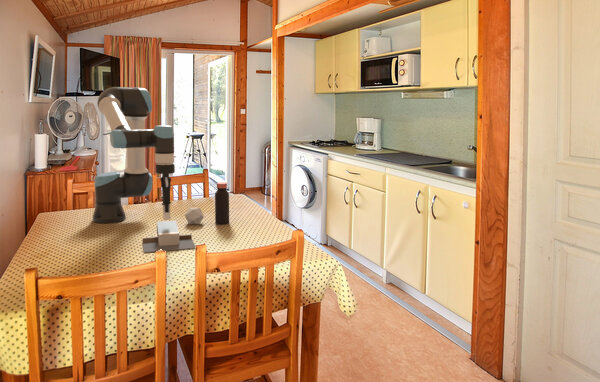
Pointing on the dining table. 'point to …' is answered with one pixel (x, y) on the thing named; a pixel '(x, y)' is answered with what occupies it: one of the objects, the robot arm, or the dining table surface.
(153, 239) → the rail
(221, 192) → the bottle
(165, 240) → the tall block
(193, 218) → the grey faceted rock
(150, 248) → the mat
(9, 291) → the dining table surface
